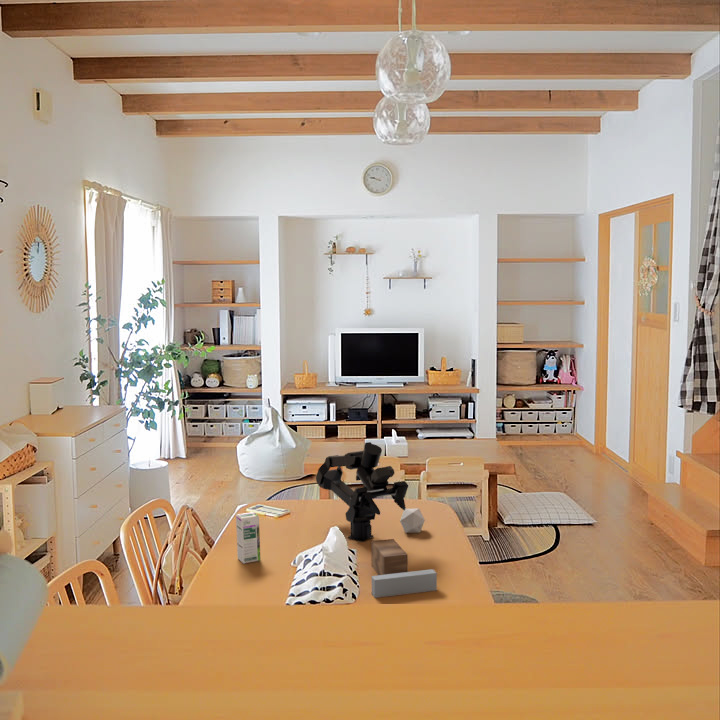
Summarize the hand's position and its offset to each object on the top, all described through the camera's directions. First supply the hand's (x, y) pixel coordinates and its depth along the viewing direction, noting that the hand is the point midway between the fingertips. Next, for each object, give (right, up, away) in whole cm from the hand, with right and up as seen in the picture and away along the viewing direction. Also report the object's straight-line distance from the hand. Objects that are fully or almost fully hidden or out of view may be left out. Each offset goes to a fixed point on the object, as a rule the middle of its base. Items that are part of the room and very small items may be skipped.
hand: (392, 511), depth 239 cm
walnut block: (-1, -16, -12) cm, 20 cm away
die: (+8, -12, +26) cm, 30 cm away
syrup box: (-45, -15, +1) cm, 47 cm away
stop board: (+2, -17, -26) cm, 31 cm away
